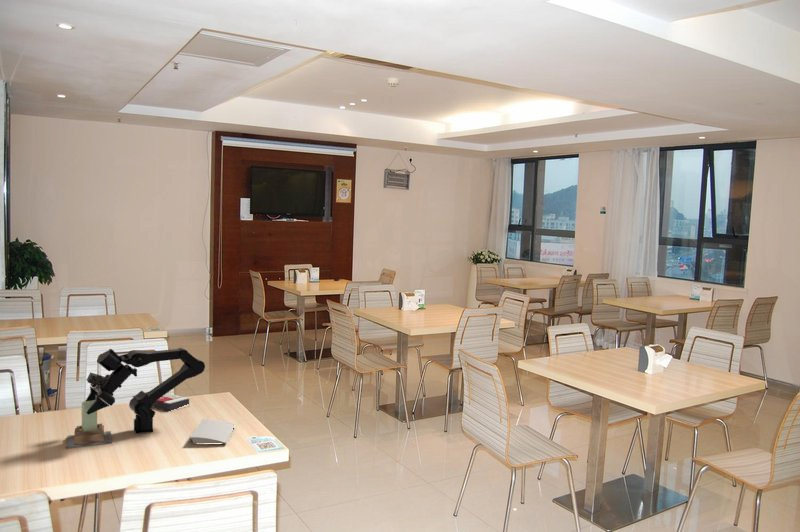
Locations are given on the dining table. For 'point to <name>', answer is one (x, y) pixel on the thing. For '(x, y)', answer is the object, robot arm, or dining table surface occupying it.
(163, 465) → the dining table surface
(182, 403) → the grey and red box
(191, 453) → the dining table surface
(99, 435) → the base socket
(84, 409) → the pillar
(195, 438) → the book
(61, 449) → the dining table surface
